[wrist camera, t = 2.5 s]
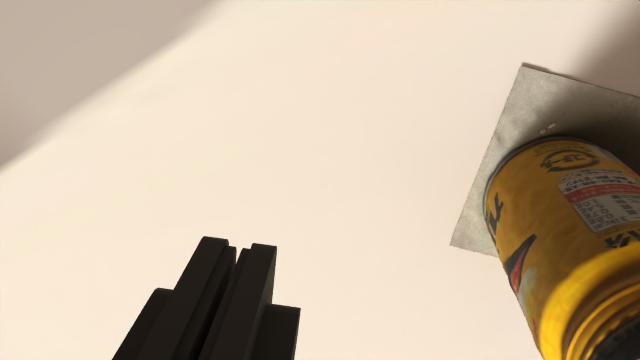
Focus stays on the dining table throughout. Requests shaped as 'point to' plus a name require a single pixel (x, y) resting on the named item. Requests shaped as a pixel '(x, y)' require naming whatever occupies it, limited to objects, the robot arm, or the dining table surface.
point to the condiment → (564, 214)
